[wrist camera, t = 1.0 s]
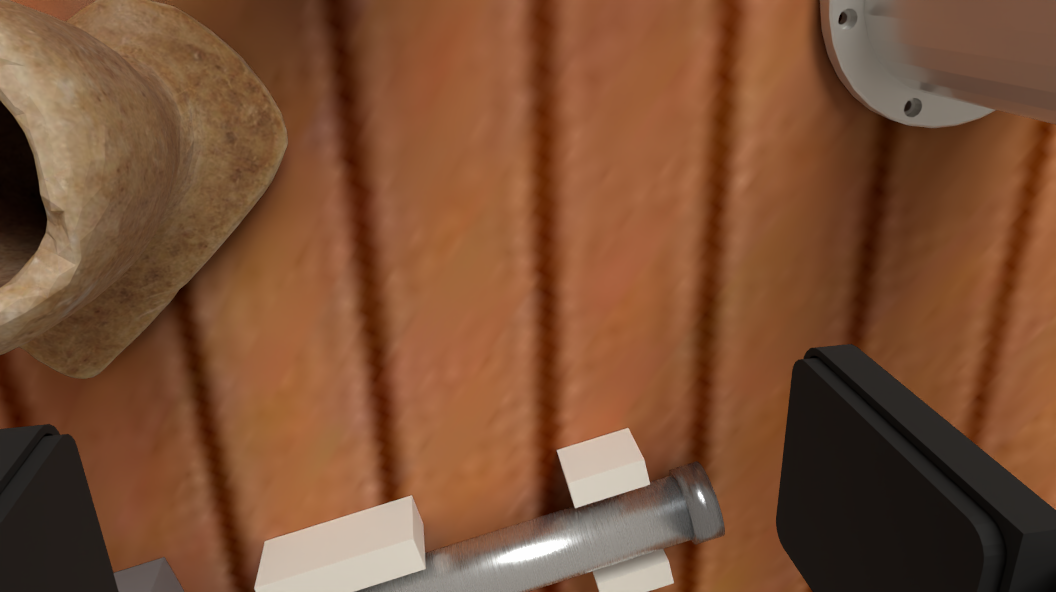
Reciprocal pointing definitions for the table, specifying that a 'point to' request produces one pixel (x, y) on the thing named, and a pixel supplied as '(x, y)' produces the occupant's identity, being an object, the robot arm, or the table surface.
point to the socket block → (148, 578)
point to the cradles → (398, 534)
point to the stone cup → (118, 170)
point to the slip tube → (574, 539)
